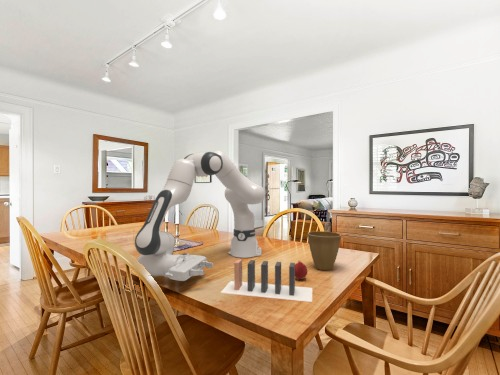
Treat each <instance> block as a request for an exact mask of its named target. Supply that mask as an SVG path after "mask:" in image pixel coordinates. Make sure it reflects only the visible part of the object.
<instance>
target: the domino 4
mask: <svg viewBox="0 0 500 375" xmlns="http://www.w3.org/2000/svg"><path fill="white" fill-rule="evenodd" d="M295 264H296V263H295V262H289V267H288V279H289V280H288V283H289V284H288V286H289V295H292V296H294V292H295V286H296V277H295Z"/></svg>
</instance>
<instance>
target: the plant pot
mask: <svg viewBox="0 0 500 375" xmlns="http://www.w3.org/2000/svg"><path fill="white" fill-rule="evenodd" d="M341 237H342V234H340V233H338V232H333V231H323V230H321V231H320V230H319V231H318V230H317V231H310V232H309V231H308V233H307V239H308V245H309V249H310V254H311V257H312V262H313V264H314V267H315V269H316V270H319V271H331V270H332V269H333V268H334V266H335V263H336V260H337V257H338V253H339V248H340V245H341V244H340V243H341V240H342V238H341Z"/></svg>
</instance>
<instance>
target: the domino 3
mask: <svg viewBox="0 0 500 375" xmlns="http://www.w3.org/2000/svg"><path fill="white" fill-rule="evenodd" d="M274 285H275V294H280V291H281V285H282V261H276V263H275V266H274Z"/></svg>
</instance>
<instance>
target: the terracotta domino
mask: <svg viewBox="0 0 500 375" xmlns="http://www.w3.org/2000/svg"><path fill="white" fill-rule="evenodd" d="M233 264H234V265H233V266H234V269H233V271H234V272H233V274H234V280H233V281H234V290H239V289H240V288H241V286H242V282H243V258H238V259H236V261H234V263H233Z"/></svg>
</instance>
